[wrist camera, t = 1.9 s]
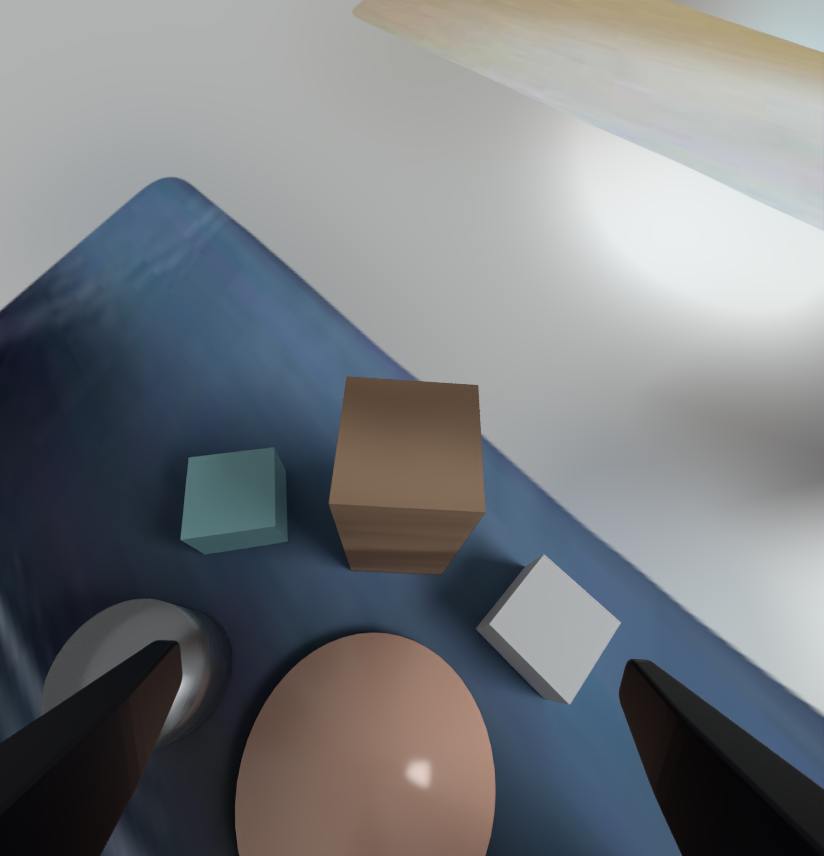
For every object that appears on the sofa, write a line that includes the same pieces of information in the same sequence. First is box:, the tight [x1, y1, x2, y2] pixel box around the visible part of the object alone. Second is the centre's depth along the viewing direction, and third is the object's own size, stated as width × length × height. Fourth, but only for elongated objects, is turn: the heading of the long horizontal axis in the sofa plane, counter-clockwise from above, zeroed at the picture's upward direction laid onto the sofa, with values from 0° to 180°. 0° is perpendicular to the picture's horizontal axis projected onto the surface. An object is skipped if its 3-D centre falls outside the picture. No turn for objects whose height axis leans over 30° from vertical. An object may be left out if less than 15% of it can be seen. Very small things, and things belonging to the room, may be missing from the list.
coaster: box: [235, 633, 496, 856], centre depth 16 cm, size 10×10×1 cm
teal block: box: [181, 447, 288, 554], centre depth 20 cm, size 4×4×3 cm
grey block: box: [476, 555, 621, 705], centre depth 18 cm, size 4×4×3 cm
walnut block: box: [329, 377, 485, 575], centre depth 17 cm, size 4×4×10 cm
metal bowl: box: [40, 599, 232, 749], centre depth 16 cm, size 5×5×4 cm
